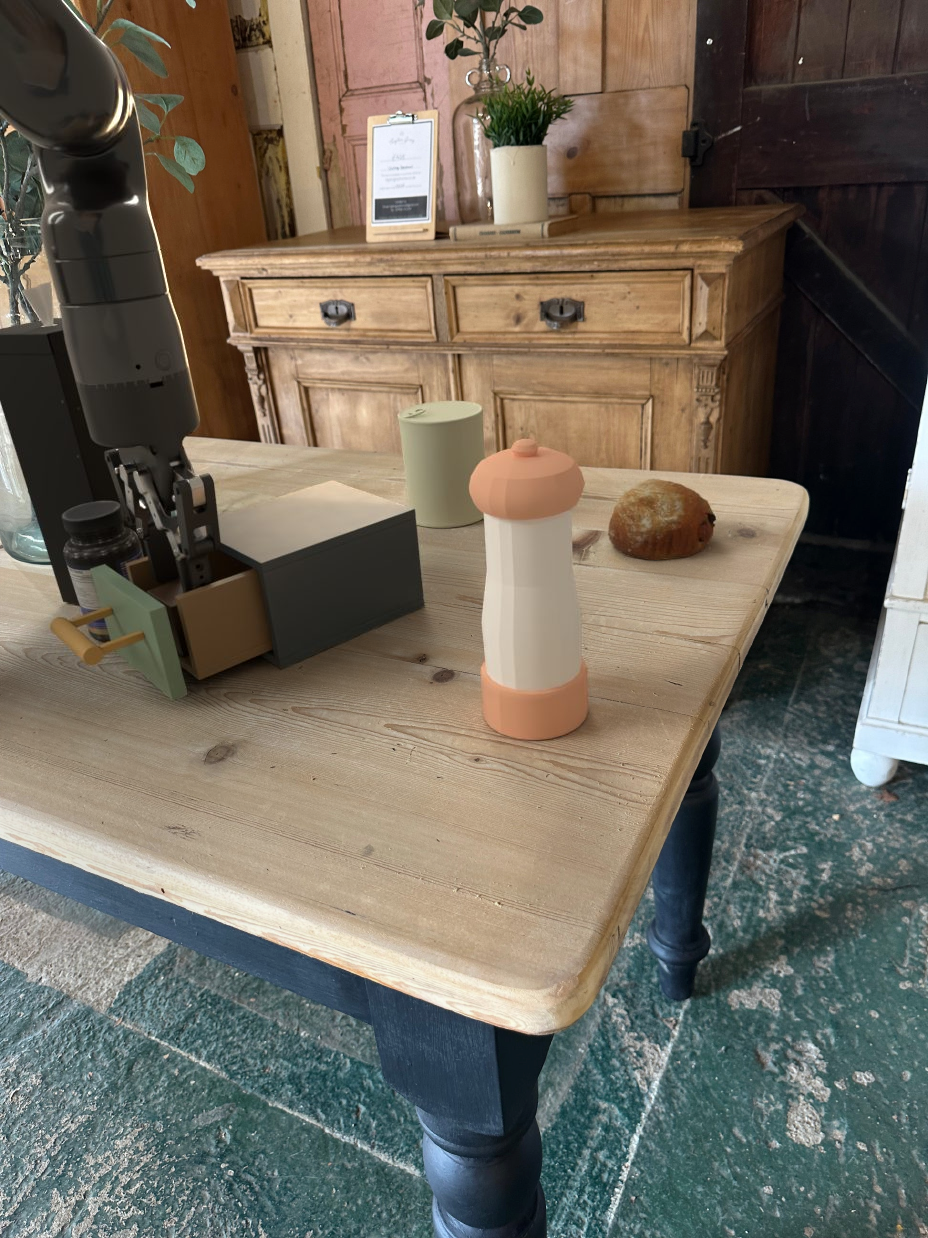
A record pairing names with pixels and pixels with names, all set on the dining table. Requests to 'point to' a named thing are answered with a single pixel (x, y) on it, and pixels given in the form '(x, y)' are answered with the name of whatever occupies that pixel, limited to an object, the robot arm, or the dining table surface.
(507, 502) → the pepper shaker
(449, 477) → the can
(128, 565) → the drawer
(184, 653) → the block
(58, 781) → the dining table surface
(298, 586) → the cabinet
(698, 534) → the bread roll
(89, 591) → the pill bottle
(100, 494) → the black tall box
